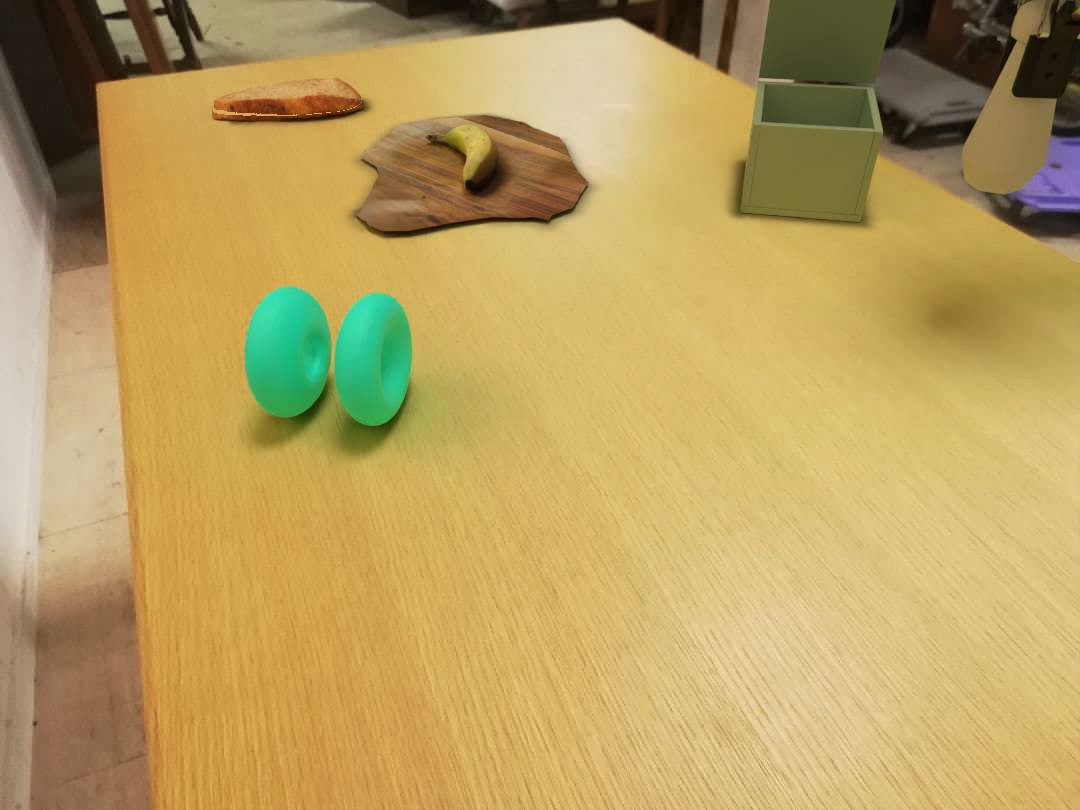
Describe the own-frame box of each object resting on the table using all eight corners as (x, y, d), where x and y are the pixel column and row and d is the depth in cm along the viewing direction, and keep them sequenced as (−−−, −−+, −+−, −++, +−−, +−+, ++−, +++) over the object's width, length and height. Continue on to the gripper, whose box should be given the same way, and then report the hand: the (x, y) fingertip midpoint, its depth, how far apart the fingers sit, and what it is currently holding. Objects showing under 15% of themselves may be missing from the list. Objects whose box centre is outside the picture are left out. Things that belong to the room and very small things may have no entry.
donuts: (385, 455, 58) (361, 345, 52) (259, 442, 60) (221, 334, 53) (423, 373, 66) (406, 269, 59) (310, 364, 67) (282, 261, 61)
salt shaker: (1027, 170, 63) (1094, -8, 55) (1042, 201, 59) (1115, 14, 51) (949, 165, 64) (1001, -9, 56) (957, 196, 60) (1015, 12, 52)
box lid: (911, -63, 77) (907, -77, 80) (779, -65, 79) (780, -79, 83) (874, 84, 87) (872, 65, 90) (758, 78, 89) (760, 60, 93)
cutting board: (608, 217, 86) (609, 184, 84) (357, 247, 83) (351, 214, 80) (544, 109, 113) (543, 81, 110) (352, 128, 109) (347, 100, 107)
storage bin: (860, 222, 84) (883, 131, 77) (740, 212, 86) (753, 124, 80) (853, 170, 94) (873, 86, 87) (746, 163, 96) (758, 80, 90)
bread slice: (203, 114, 115) (195, 88, 112) (305, 82, 125) (300, 57, 122) (271, 144, 105) (264, 116, 103) (376, 106, 115) (372, 80, 113)
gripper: (1284, -241, 38) (1121, 131, 50) (1165, -250, 50) (1057, 50, 62) (1110, -233, 40) (992, 126, 51) (1036, -243, 52) (954, 48, 64)
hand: (1028, 81), depth 57 cm, fingers closed on salt shaker, 4 cm apart
